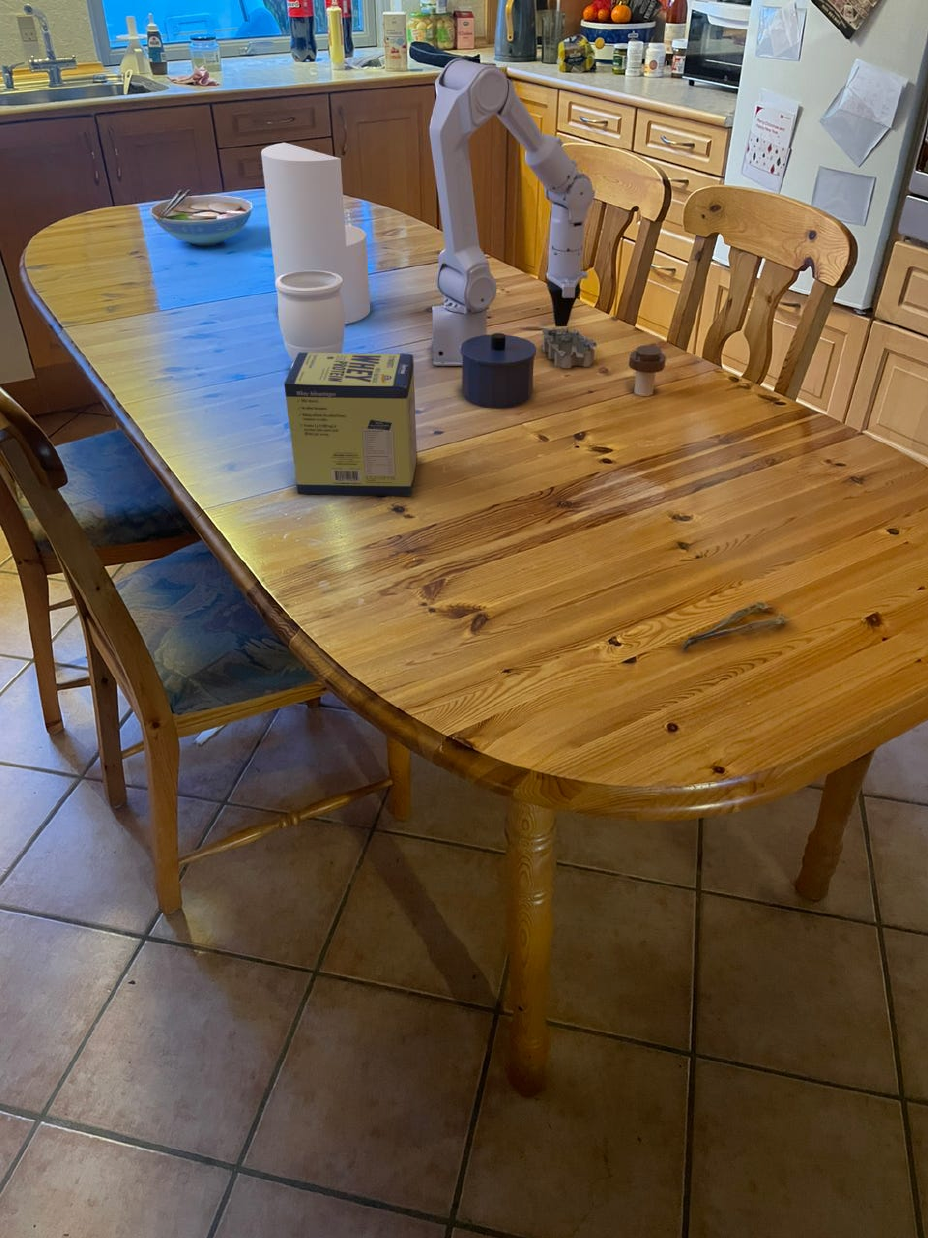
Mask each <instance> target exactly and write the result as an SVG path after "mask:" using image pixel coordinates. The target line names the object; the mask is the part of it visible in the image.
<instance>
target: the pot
mask: <svg viewBox="0 0 928 1238" xmlns="http://www.w3.org/2000/svg"><path fill="white" fill-rule="evenodd" d="M534 365H535V356H534V357H533V358H532V359H531V360H529V361H527V362H524V363H520V364H516V365H508V366H491V365H483V364H479V363H475V362H472V361H469V360H467V359H466V358H464V357H463V356H462V366H461V369H462V371H461V372H462V374H461V378H462V379H461V381H462V382H461V389H462V390H461V391H462V397H463V398H464V400H466V401H467V402H468V403H470V404H472V405H475V406H478V407H481V408H488V409H508V408H514V407H518V406H521V405H524V404H525V403H527V402H529V400H530V399H531V398H532V394H533V383H534V381H533V380H534Z"/></svg>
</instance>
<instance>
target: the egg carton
mask: <svg viewBox="0 0 928 1238" xmlns="http://www.w3.org/2000/svg"><path fill="white" fill-rule="evenodd" d="M541 332H542V337H543V339H542V351H543V352H544V353H548V354H547V355H548V356H547V357H548V359H549V360H554V362H553V363H554V366H555V367H558V368H562V369H566V370H567V369H571V367H574V366H581V367H582V368H589V367H590V366H591V365H592V364H593V363H594V359H595V349H594V348H597V347H598V346H597V345H598V344H597V343H596V342H597V341H596V340H595V339H590V338H588V336H585V335H583V334H580V331H579V330H577V328H575V329H573V331H569V328H568V327H566V328H565V329H563V328H554V327H553V328H552V329H549V328H545V327H542V328H541Z"/></svg>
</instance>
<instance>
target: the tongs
mask: <svg viewBox="0 0 928 1238" xmlns="http://www.w3.org/2000/svg"><path fill="white" fill-rule="evenodd" d="M772 609H773V606H769V605H767V603H765V602H764V601H756V602H754V603H753V604H752V605H751V604H750V605H748V606H746V607H743V608H741V609H738V610H736V611H734V612H732V613H730V614H729V615H727V616H726V617H725V618H723V619H722V620H721V621H720V622H719V623H717V624H716V625H714V626H713V627H711V628H710V629H707V630H706V631H703V632H702V633H699V634H696V635H693V636H691V637H689V638H687V639H686V640H685V641H684V643H683V645H682V647H681V649H682V650H681V651H682V652H684V651H685V650H686V649H687V648H689V647H691V646H694V645H697V644H701V643H703V642H705V641H710V640H713V639H714V640H715V639H718V638H722V637H728V636H730V635H733V634H740V633H752V632H755V631H758V630H761V629H765V628H770V627H773V626H776V625H782V624H783V623H785V622H787V621H788V619H787V618H785V617H784V616H783V613H779V614H778V615H777V617H775V618H768V619H762V620H755V621H751V622H748V623H747V624H742V625H740V626H737V627H733V628H727V629H723V628H725V627H726V626H728V625H730V624H736V623H738V622H740V621H741V620H742V619H743V618H744V617H746V616H748V615H750V614H753V613H756V612H757V613H758V612H763V613H765V612H769V610H772ZM722 629H723V630H722Z"/></svg>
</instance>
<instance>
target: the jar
mask: <svg viewBox="0 0 928 1238" xmlns="http://www.w3.org/2000/svg"><path fill="white" fill-rule="evenodd" d="M274 286H275V289H276V291H277V290H278V291H279V292H280V293H279V299H278V298H277V316H278V324H279V328H280V332H281V336H282V338H283V342H284V343H283V344H284V347H285V350H286V352H287V353H286V354H288V356H289V358H290V360H291V361H292V363H291V365H290V369H291V368H292V366H293V364H294V362H295V359H296V357H297V355H298V353H299V352H300V353H341V354H343V353H342V352H343V350H344V339H345V329H346V324H345V312H344V305H343V300H342V297H341V293H340V291H339V289H340V288H341V287H342V278H341V277H340V276H339V275H337V274H335V273H331V272H327V271H317V270H307V271H296V272H291V273H287V274H284V275H281V276H279V277H278V278H277V279H274Z"/></svg>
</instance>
